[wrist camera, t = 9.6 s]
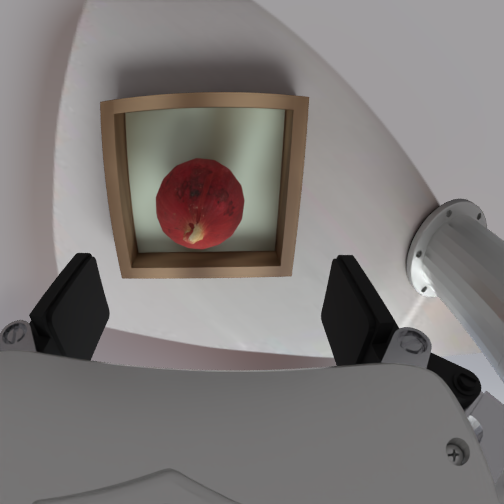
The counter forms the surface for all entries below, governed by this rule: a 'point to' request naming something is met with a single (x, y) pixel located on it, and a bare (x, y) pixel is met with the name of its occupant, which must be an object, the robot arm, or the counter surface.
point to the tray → (215, 148)
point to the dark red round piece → (199, 203)
